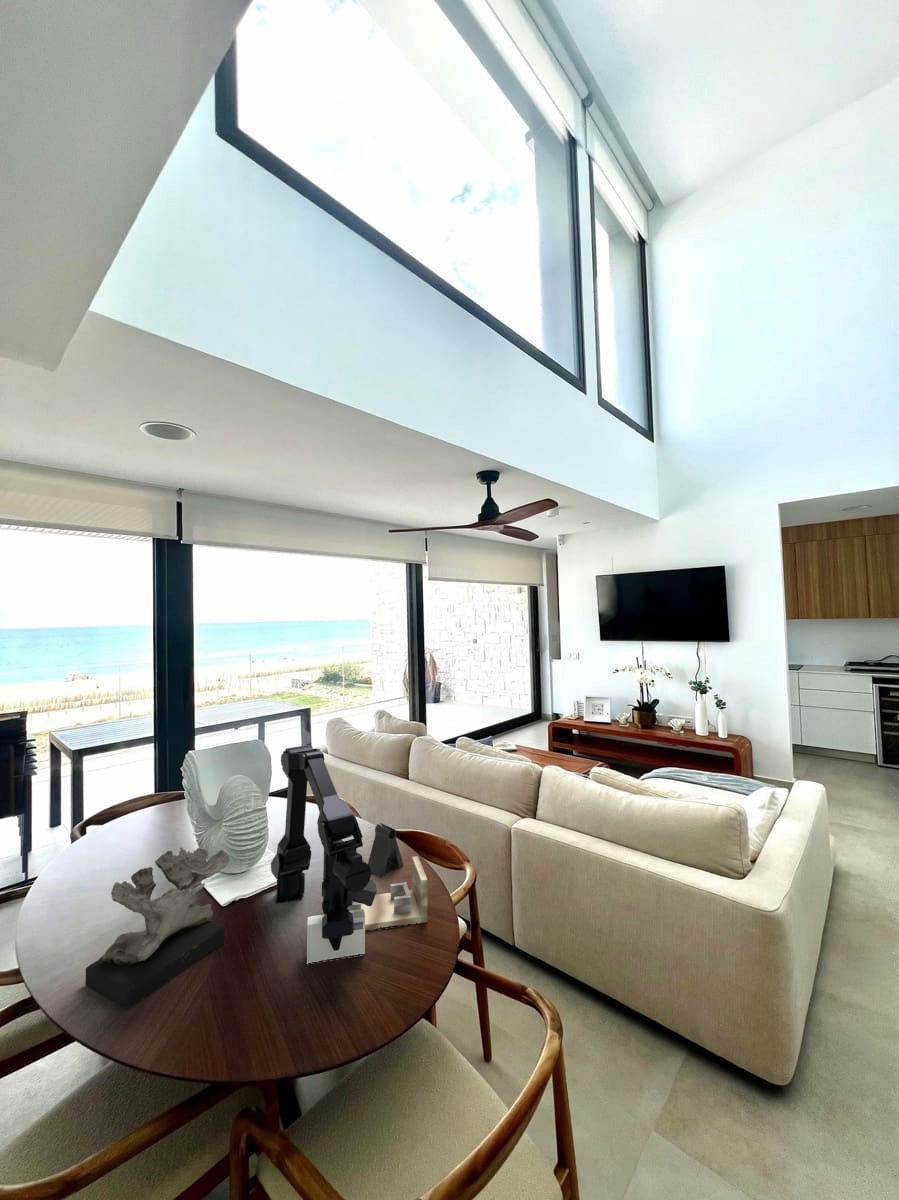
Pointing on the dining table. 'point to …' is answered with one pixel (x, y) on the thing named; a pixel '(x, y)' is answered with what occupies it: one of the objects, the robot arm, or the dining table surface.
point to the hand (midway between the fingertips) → (336, 945)
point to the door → (322, 947)
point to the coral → (159, 929)
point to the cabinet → (398, 903)
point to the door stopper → (384, 851)
